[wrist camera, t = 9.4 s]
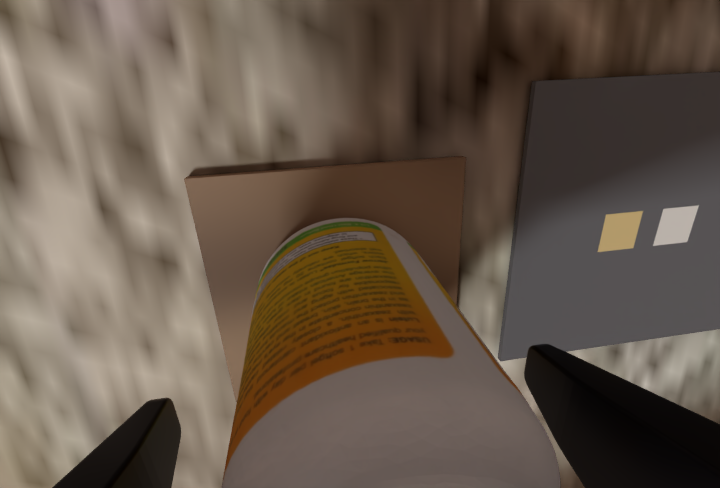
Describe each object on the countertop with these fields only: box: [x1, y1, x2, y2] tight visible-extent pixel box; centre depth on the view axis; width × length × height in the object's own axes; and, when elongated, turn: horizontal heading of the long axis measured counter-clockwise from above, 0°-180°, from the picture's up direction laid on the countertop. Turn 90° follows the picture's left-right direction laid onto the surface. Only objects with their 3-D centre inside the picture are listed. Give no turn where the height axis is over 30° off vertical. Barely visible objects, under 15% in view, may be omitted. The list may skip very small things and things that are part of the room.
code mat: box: [498, 72, 720, 361], centre depth 13 cm, size 10×10×1 cm
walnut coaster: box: [184, 156, 466, 402], centre depth 12 cm, size 8×8×1 cm
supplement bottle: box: [222, 218, 561, 488], centre depth 8 cm, size 5×5×10 cm
